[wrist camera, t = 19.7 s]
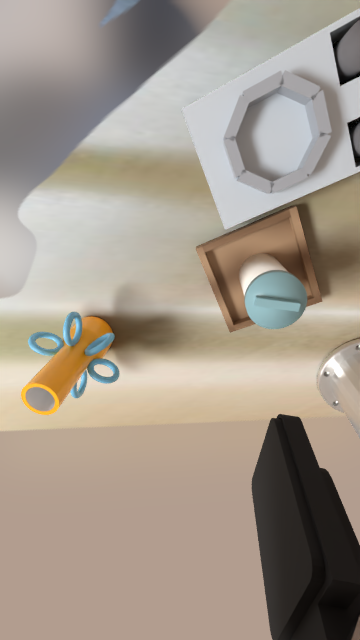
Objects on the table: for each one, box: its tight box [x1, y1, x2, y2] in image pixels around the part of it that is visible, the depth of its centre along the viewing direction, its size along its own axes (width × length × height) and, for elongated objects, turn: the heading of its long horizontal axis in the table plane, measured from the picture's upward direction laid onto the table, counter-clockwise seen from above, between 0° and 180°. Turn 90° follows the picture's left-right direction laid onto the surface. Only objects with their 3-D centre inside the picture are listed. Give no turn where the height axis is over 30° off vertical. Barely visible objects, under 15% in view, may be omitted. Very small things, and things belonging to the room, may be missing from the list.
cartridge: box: [239, 253, 307, 329], centre depth 31 cm, size 6×6×11 cm
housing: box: [181, 8, 360, 230], centre depth 28 cm, size 12×18×6 cm, turn 114°
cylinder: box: [21, 312, 119, 415], centre depth 36 cm, size 12×10×15 cm
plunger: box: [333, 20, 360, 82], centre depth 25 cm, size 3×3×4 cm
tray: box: [196, 206, 322, 332], centre depth 36 cm, size 12×12×2 cm
